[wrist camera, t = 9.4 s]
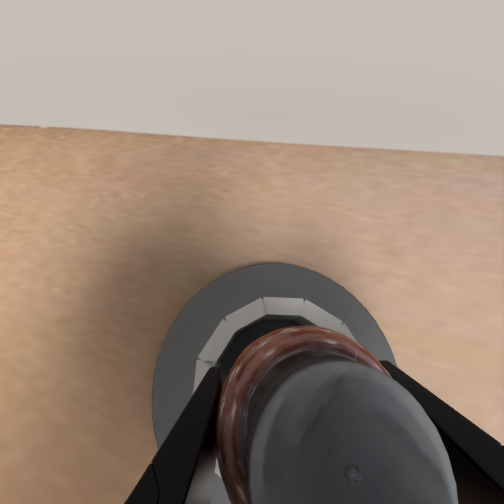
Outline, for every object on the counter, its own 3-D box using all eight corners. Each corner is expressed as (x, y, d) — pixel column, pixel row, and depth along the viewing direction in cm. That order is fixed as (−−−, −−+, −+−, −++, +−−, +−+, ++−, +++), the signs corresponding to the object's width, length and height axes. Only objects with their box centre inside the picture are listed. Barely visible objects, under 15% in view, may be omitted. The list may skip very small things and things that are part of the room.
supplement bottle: (213, 414, 14) (119, 599, 4) (253, 320, 16) (262, 270, 6) (308, 464, 14) (520, 869, 3) (337, 358, 16) (522, 379, 5)
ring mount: (220, 615, 12) (208, 731, 9) (126, 328, 17) (93, 323, 14) (446, 436, 15) (510, 465, 12) (310, 236, 20) (324, 211, 17)
